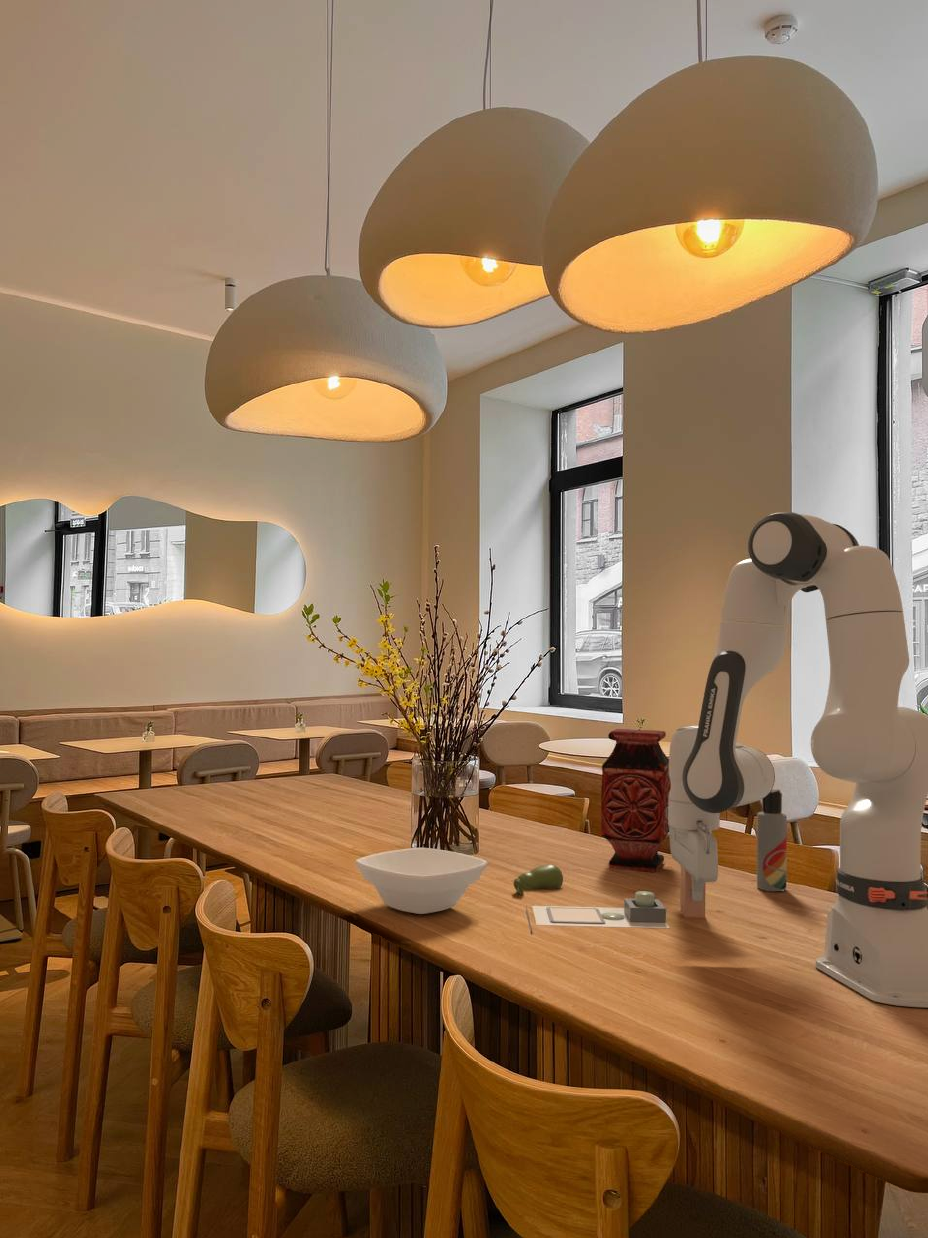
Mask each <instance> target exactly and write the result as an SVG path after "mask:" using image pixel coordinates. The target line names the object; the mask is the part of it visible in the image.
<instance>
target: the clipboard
mask: <svg viewBox="0 0 928 1238" xmlns="http://www.w3.org/2000/svg"><path fill="white" fill-rule="evenodd" d="M531 907H532V911H533V915H534V919H535V920H534V921H535V924H536V926H552V927H556V926H557V927H559V926H560V927H589V928H590V927H593V928H595V927H596V928H600V927H601V928H633V929H635V928H640V929H670V926H668V924H667V922H666V923H644V922H630V921H629V919H628V918H627V916H626V915H625V913H624V907H602V906H601V907H599V906H596V907H595V906H563V905H562V906H559V905H558V906H557V905H531ZM525 912H526V916H527V922H528V926H529V930H530V934H531V935H533V934H534V933H533V929H532V925H531V921H530V915H529V910H528V907H527V905H525Z"/></svg>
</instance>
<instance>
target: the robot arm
mask: <svg viewBox="0 0 928 1238" xmlns="http://www.w3.org/2000/svg"><path fill="white" fill-rule="evenodd" d="M747 548H748V549H747V551H748V555H749V557H750V558H747V559H744V560H741V561H740V562H737V563H736V564H735V565H733V567H732V568H731V570H730V573H729V576H728V578H727V582H726V587H725V590H724V595H723V599H722V606H721V613H720V614H721V615H720V622H719V629H718V631H719V632H718V638H717V644H716V649H715V654H714V656H713V659H712V662H711V665H710V668H709V672H708V675H707V679H706V683H705V688H704V691H703V692H704V693H703V698H702V704H701V709H700V714H699V715H700V716H699V722H698V725H690V726H684V727H680V728H678V729H676V731H674V732H673V734H672V737H671V739H670V745H669V752H668V753H669V755H668V759H669V778H670V781H671V788H670V793H669V796H668V807H667V808H666V818H667V819H668V825H669V833H668V835H669V836H668V837H669V847H670V848H669V849H670V854H671V857H672V859H673V860H674V861H675V862H677V864H679V866H681V865H683V866H684V867H685V869H686V871H687V872H688V873H689V874H690V875H691V880H692V888H690V893H691V894H690V896H691V898H692V899H693V900H694V901H701V900H702V899H703V889H704V885H705V886H706V883H716V882H717V881H718V877H719V857H718V851H719V850H718V842H717V838H716V836H715V835H714V834H713V831H716V830H718V829H720V825H721V824H720V817H721V816H720V815H721V814H720V813H723V812H726V811H728V810H730V809H733V808H736V807H740V806H745V805H748V804H753V803H756V802H758V801H761V800H762V799H763V798H765V797H766V796H767V795H768V794H769V793H770V792H771V790H773V788H774V786H775V782H776V781H775V779H776V773H775V769H774V768H775V767H774V765H773V763H772V761H771V759H770V758H769V757H768V756H767V755H766V754H765V752H763V751H761V750H759V749H757V748H753V747H750V746H748V745H744V744H743V743H740V742H738V741H737V739H738V734H739V728H740V721H741V718H742V717H741V715H742V710H743V706H744V705H743V704H744V702H745V699H746V697H747V696H748V694H749V692H750V691H751V690H752V688H753V687H754V686H755V685H756V684H757V683H758V682H759V681H762V679H764V678H765V677H767V676H768V675H769V674H771V673H772V672H774V671H775V670H776V669H777V668H778V667H779V665H781V662H782V659H783V656H784V653H785V650H786V647H787V640H788V633H789V619H790V608H791V603H792V599H793V598H794V596H795V595H796V594H797V592H799V591H801V592H804V593H811V592H814V591H817V590H819V592H820V594H821V596H822V600H823V607H824V608H823V609H824V616H825V617H824V618H825V625H826V626H825V628H826V636H827V643H828V644H827V645H828V647H827V648H828V654H829V666H830V667H829V684H828V689H827V696H826V701H825V707H824V711H823V713H822V715H821V718H820V719H819V720H818V722H817V723H816V725H815V726H814V727H813V730H812V733H811V735H810V736H811V737H810V751H811V755H812V757H813V759H814V762H815V764H816V765H817V766H818V767H819V768H820V770H821V771H823V773H825V774H827V775H828V776H831V777H833V778H836V779H839V780H842V781H845V782H850V783H855V787H854V790H853V793H852V796H851V798H850V801H849V804H848V805H847V807H846V808H844V811H843V812H842V814H841V816H840V820H839V868H837V870H836V877H835V884H836V890H835V891H836V894H837V895H838V897H837V898H836V901H835V903H834V904H833V906H831V908H829V910H828V911H827V915H826V916H827V917H826V927H825V941H824V955H823V956H821V957H817V958H816V960H815V967H816V969H818V970H819V971H822V973H825V974H826V975H828V976H830V977H832V978H833V979H835V980H837V981H838V982H839V983H842V984H843V985H845V986H847V987H848V988H851V989H853V990H854V991H856V993H857V992H858V993H859V994H860V995H863V996H864V997H865V998H867V999H869V1000H871V1001H873V1002H877V1003H882V1004H887V1005H894V1006H898V1007H899V1006H900V1007H901V1006H902V1007H912V1008H928V896H927V895H928V891H927V887H926V886H925V880H924V878H923V877H922V876H921V868H922V867H921V866H922V864H921V863H922V862H921V858H922V856H921V852H922V827H923V825H922V824H923V818H924V817H923V816H924V812H925V809H926V808H925V807H926V805H927V804H926V803H927V799H928V715H927V714H926V713H923V712H921V711H918V710H915V709H913V708H909V707H905V706H899V695H900V689H901V685H902V680H903V677H904V675H905V674H906V672H907V671H908V668H909V666H910V654H909V653H910V652H909V646H908V640H907V639H908V638H907V631H906V624H905V617H904V609H903V602H902V597H901V592H900V588H899V584H898V580H897V576H896V573H895V572H894V567H893V565H892V562H891V560H890V558H889V556H888V555H887V554H886V553H885V552H884V551H883V550H881V549H879V548H876V547H874V546H869V545H860V544H859V542H858V540H857V538H856V537H855V536H854V534H852V533H851V532H850V531H849V530H848V529H846V528H845V527H843V526H841V525H839V524H837V523H836V524H835V523H831V522H829V521H826V520H824V519H822V518H820V517H817V516H813V515H808V514H800V513H797V512H792V511H782V512H781V511H780V512H775V513H772V514H769V515H767V516H764V517H763V518H761V519H760V520H759V521H758V522H757V523H756V524H755V525H754V527H753V529H752V530H751V532H750V535H749V537H748V542H747Z"/></svg>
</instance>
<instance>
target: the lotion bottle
mask: <svg viewBox="0 0 928 1238" xmlns="http://www.w3.org/2000/svg"><path fill="white" fill-rule="evenodd" d="M782 795H783V793H782V792H781V790H780V789H772V790H771V792H770V793H769V794H768V795H767V796H766V797H765V798H763V799H761V800H762V801H761V802H762V803H761V804H762V808H761V809H762V811H759V812H757V814H756V815H757V817H756V818H757V819H756V835H757V836H756V887H757V889H758V888H759V889H758V890H760V889H762V890H761V891H763V890H767V891H766V892H769V891H782V890H785V891H786V890H787V876H788V875H787V859H788V857H787V856H788V855H787V853H788V852H787V849H788V847H787V845H788V842H787V841H788V839H787V835H788V833H787V832H788V831H787V829H788V828H787V826H788V825H787V823H788V822H787V821H788V819H787V818H788V817H787V814H785V813H783V810H782V809H783V808H782V807H783V796H782Z"/></svg>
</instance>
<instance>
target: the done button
mask: <svg viewBox="0 0 928 1238" xmlns="http://www.w3.org/2000/svg"><path fill="white" fill-rule="evenodd" d="M634 895H635V898H634V899H635V906H642V907H654V899H655V893H654V892H651V891H647V890H646V891H645V890H644V891H642V890H641V891H636V892H635V894H634Z"/></svg>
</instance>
